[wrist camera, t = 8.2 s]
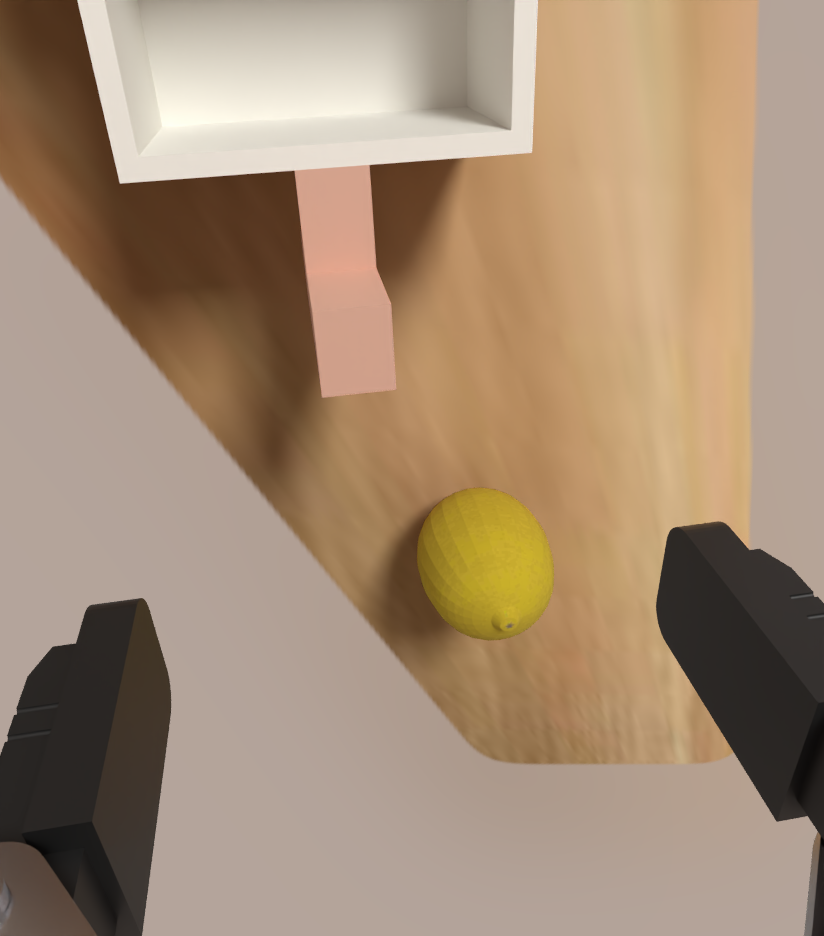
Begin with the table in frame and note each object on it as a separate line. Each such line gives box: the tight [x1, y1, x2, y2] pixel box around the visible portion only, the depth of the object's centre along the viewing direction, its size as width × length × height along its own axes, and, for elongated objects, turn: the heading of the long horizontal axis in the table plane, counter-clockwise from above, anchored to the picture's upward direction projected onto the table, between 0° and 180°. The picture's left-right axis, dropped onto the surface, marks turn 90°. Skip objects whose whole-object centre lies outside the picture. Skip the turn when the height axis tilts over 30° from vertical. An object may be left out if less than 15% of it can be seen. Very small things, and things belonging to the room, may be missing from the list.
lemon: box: [417, 488, 554, 640], centre depth 32 cm, size 6×6×8 cm
